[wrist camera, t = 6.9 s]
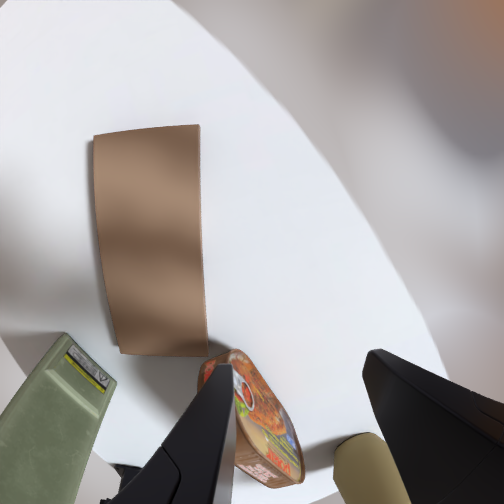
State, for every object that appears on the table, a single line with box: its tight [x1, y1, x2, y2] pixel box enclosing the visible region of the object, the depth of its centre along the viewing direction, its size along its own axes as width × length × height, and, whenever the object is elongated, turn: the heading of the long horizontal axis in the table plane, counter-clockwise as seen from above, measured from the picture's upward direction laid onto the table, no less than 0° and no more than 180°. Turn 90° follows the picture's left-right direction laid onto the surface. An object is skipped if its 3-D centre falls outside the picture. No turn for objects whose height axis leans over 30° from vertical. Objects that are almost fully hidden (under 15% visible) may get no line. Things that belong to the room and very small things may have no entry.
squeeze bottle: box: [333, 433, 411, 504], centre depth 19 cm, size 8×8×18 cm
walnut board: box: [93, 124, 209, 357], centre depth 18 cm, size 16×7×1 cm, turn 0°
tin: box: [197, 349, 305, 488], centre depth 18 cm, size 15×3×8 cm, turn 25°
